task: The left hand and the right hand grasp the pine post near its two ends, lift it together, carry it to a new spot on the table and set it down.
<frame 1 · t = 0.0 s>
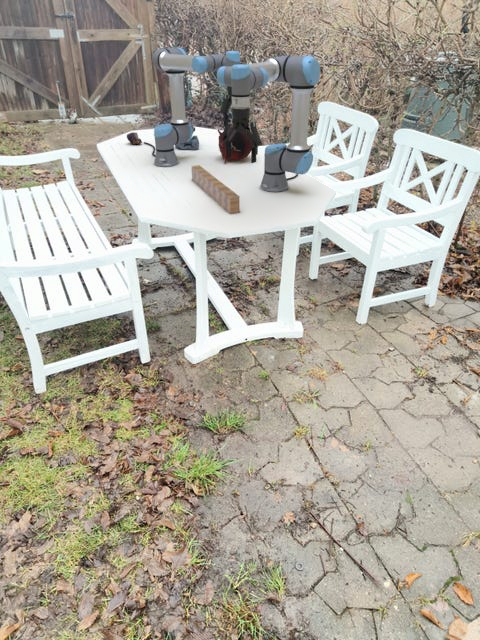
left hand: (234, 125, 259), 28 cm above the table, tool pointing down, fingers open, 13 cm apart
right hand: (241, 160, 198), 28 cm above the table, tool pointing down, fingers open, 13 cm apart
rock: (134, 144, 339), on the table
koala plush: (187, 147, 329), on the table
decorative skull: (235, 159, 303), on the table
post: (213, 194, 244), on the table
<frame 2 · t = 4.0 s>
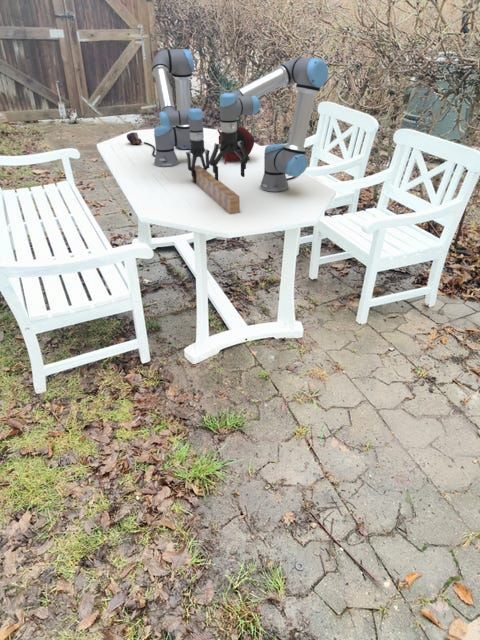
left hand: (199, 181, 262), 1 cm above the table, tool pointing down, fingers closed on post, 5 cm apart
right hand: (229, 177, 217), 16 cm above the table, tool pointing down, fingers open, 13 cm apart
post: (213, 194, 244), on the table, touching left hand
everything else where it was.
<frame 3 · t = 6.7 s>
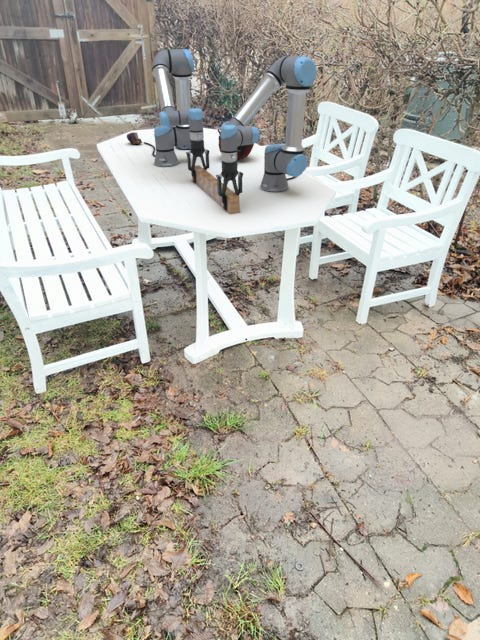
left hand: (199, 181, 262), 1 cm above the table, tool pointing down, fingers closed on post, 5 cm apart
right hand: (230, 207, 226), 1 cm above the table, tool pointing down, fingers closed on post, 5 cm apart
post: (213, 194, 244), on the table, touching left hand, right hand
everything else where it was.
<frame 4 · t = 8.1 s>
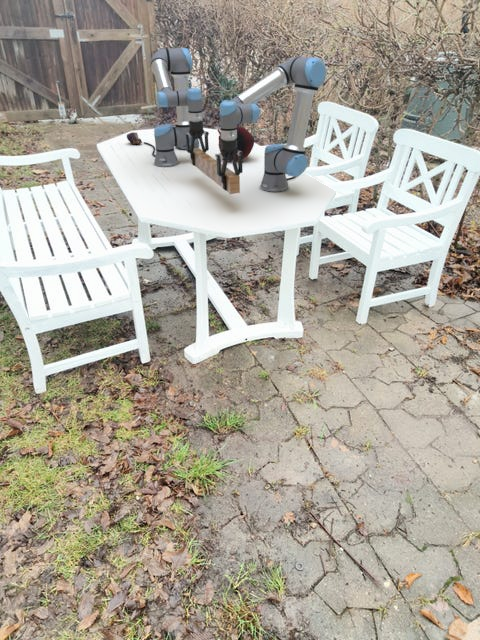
left hand: (198, 164, 256), 10 cm above the table, tool pointing down, fingers closed on post, 5 cm apart
right hand: (230, 188, 221), 10 cm above the table, tool pointing down, fingers closed on post, 5 cm apart
post: (213, 176, 239), point 10 cm above the table, touching left hand, right hand
everything else where it was.
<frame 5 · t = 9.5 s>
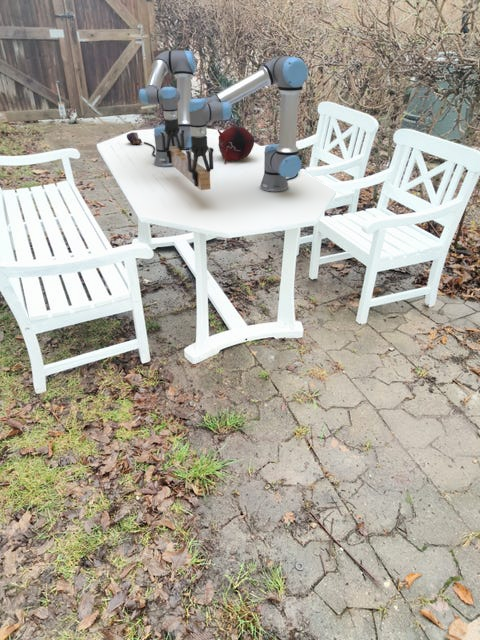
left hand: (174, 162, 259), 11 cm above the table, tool pointing down, fingers closed on post, 5 cm apart
right hand: (201, 184, 223), 11 cm above the table, tool pointing down, fingers closed on post, 5 cm apart
post: (187, 173, 241), point 10 cm above the table, touching left hand, right hand
everything else where it was.
when the left hand's fingers open (1 cm above the table, at t = 12.4 s): post stays where it is, on the table.
when the right hand's fingers open (1 cm above the table, at t = 12.4 s): post stays where it is, on the table.
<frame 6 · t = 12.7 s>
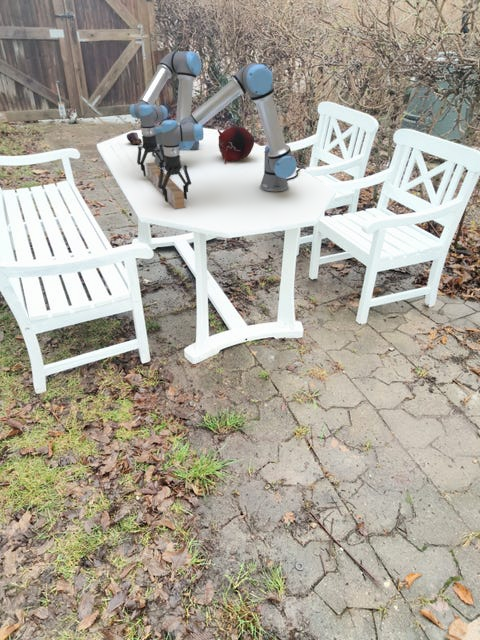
left hand: (153, 174, 267), 2 cm above the table, tool pointing down, fingers open, 9 cm apart
right hand: (176, 199, 231), 2 cm above the table, tool pointing down, fingers open, 9 cm apart
post: (164, 190, 250), on the table
everything else where it was.
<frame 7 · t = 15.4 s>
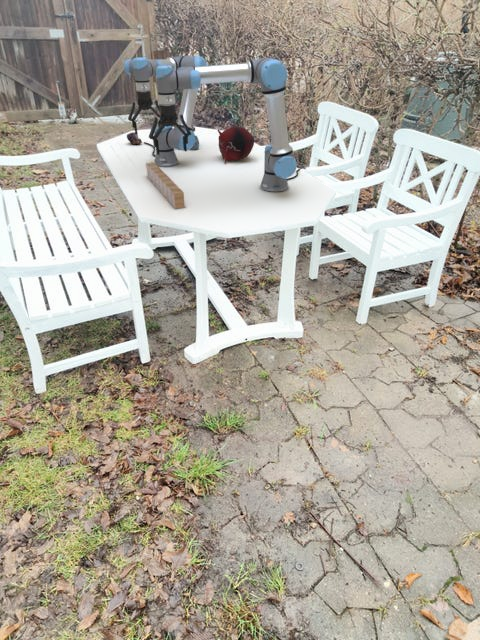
left hand: (148, 132, 253), 26 cm above the table, tool pointing down, fingers open, 13 cm apart
right hand: (171, 152, 217), 26 cm above the table, tool pointing down, fingers open, 13 cm apart
nothing on the table moved.
at the end: post inside the target area (0.1 cm from its centre), on the table; post tilted 0°; post never tilted more than 1° during the clip; both hands held the post at the same time; the left hand is holding nothing; the right hand is holding nothing; post at rest at the end (0.0 cm/s) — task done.
